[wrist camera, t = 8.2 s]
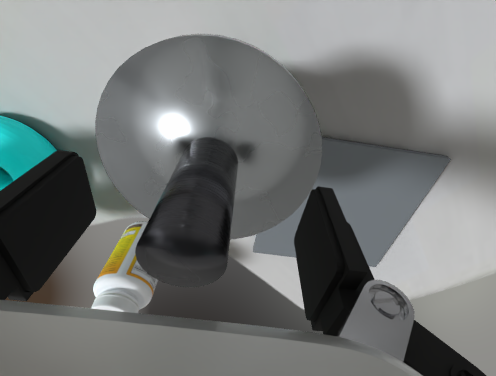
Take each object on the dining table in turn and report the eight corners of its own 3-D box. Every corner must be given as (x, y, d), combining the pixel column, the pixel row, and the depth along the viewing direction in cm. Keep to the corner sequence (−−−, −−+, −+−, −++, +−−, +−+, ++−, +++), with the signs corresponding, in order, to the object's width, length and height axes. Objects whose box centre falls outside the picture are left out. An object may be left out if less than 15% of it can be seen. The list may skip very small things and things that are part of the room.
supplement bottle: (126, 245, 33) (81, 327, 24) (126, 214, 29) (75, 296, 21) (169, 254, 33) (140, 336, 25) (174, 225, 30) (143, 308, 22)
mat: (281, 130, 23) (281, 133, 22) (447, 156, 24) (451, 159, 24) (253, 248, 32) (253, 252, 32) (373, 263, 33) (375, 266, 33)
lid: (77, 13, 10) (-148, 21, 4) (351, 55, 10) (459, 107, 5) (122, 220, 16) (53, 330, 11) (291, 239, 17) (308, 352, 11)
